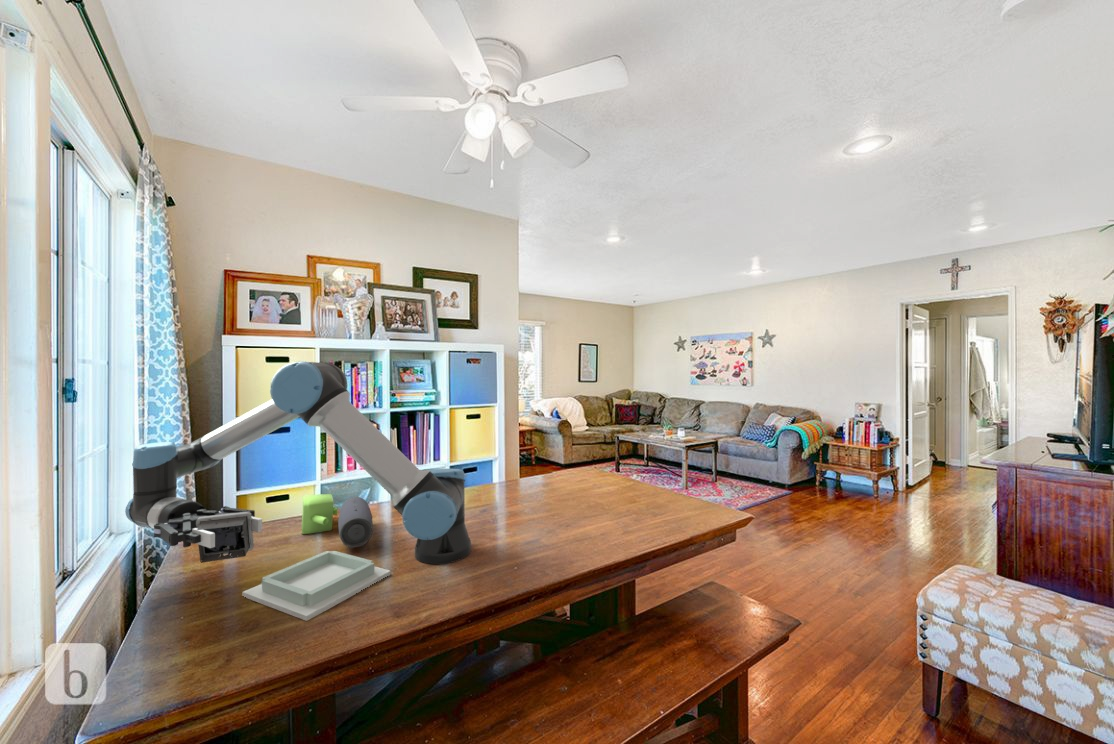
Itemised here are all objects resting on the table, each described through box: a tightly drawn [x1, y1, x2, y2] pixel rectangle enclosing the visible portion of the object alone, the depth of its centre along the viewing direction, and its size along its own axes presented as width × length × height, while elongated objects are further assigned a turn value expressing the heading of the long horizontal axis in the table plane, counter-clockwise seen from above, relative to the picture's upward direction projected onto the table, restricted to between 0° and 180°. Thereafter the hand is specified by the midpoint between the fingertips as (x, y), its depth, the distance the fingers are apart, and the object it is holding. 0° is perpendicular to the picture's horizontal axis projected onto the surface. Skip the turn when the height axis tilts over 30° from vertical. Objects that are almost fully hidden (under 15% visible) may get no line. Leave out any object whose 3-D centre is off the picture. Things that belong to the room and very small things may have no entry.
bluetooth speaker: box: [337, 496, 374, 548], centre depth 132 cm, size 23×9×10 cm, turn 26°
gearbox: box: [301, 493, 338, 535], centre depth 141 cm, size 18×10×10 cm, turn 30°
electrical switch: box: [196, 512, 255, 564], centre depth 91 cm, size 9×5×9 cm, turn 114°
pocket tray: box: [241, 550, 392, 622], centre depth 104 cm, size 22×22×4 cm
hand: (237, 532), depth 89 cm, fingers closed on electrical switch, 8 cm apart
